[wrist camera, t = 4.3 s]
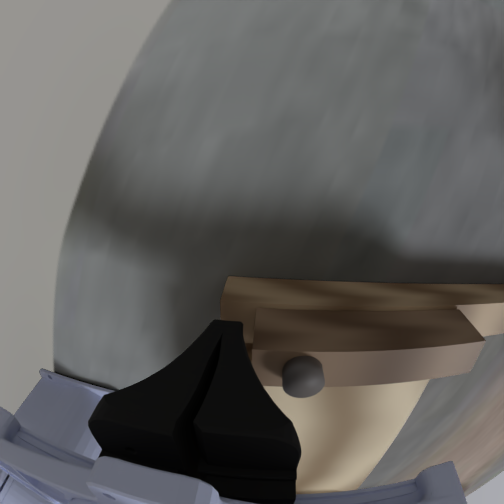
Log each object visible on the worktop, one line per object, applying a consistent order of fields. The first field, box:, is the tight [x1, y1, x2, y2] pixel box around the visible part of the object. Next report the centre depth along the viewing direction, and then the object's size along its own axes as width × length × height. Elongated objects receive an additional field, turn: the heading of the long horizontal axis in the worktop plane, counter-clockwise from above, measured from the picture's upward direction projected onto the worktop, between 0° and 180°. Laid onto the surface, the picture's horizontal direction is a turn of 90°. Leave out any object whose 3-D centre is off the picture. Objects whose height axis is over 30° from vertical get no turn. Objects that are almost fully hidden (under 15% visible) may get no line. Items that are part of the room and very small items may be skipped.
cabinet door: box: [252, 308, 486, 398], centre depth 12 cm, size 11×2×4 cm, turn 88°
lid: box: [251, 362, 429, 494], centre depth 15 cm, size 10×16×3 cm, turn 178°
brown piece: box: [220, 276, 504, 362], centre depth 17 cm, size 24×19×3 cm
